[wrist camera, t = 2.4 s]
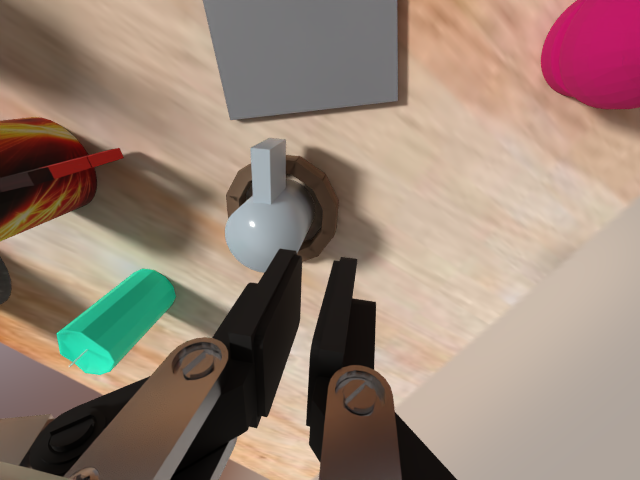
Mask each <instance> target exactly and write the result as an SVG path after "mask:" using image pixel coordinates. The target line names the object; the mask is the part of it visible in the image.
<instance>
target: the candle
mask: <svg viewBox="0 0 640 480" xmlns="http://www.w3.org/2000/svg"><path fill="white" fill-rule="evenodd" d="M175 298H176V295H175V291H174V287H173V285H172V284H171V283H170V282H169V280H168V279H167V278H166V277H165V276H163V275H161V274H160V273H158V272H156V271H155V270H149V269H141V270H138V271H136V272H134V273H133V274H132V275H130V276H129V277H128V278H127V279H125V280H124V281H123V282H121V283H120V284H119V285H118V286H116V287H115V288H114V289H112V290H111V291H110V292H109V293H107V294H106V295H105V296H104V297H102V298H101V299H100V300H98V301H97V302H96V303H95V304H93V305H92V306H91V307H90V308H88V309H87V310H86V311H84V312H83V313H82V314H81V315H79V316H78V317H77V318H75V319H74V320H73V321H72V322H70V323H69V324H68V325H67V326H65V327H64V328H63V329H61V330H60V331H59V332H58V333H56V334H57V339H58V344H59V350H60V354H61V355H62V356H64V357H66V358H67V359H69V360H70V361H72V363H71V364H70V365H69V367H70V366H72V365H73V364H74V363H75V364H76V365H77V366H78V367H79V368H80V369H82V370H83V371H84V372H85V373H89V374H97V375H101V374H104V373H107V372H110V371H111V370H112V369H113V368H114V367H115V366H116V365H117V364H118V363H119V361H120V360H121V359H122V358H123V357H124V356H125V355H126V354H127V353H128V352H129V351H130V350H131V349H132V347H133V346H134V345H135V344H136V343H137V342H138V341H139V340H140V339H141V338H142V337H143V336H144V335H145V333H146V332H147V331H148V330H149V329H150V328H151V327H152V326H153V325H154V324H155V323H156V322H157V320H158V319H159V318H160V317H161V316H162V315H163V314H164V313H165V312H166V311H167V310H168V309H169V308H170V306H171V305H172V304H173V302H174V300H175Z"/></svg>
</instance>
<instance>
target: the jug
mask: <svg viewBox="0 0 640 480" xmlns="http://www.w3.org/2000/svg"><path fill="white" fill-rule="evenodd" d="M251 168H252V188H253V196H251V197H250V198H249V199H248V200H247V201H246V202H245V203H244V204H243V205H241V206H240V207H239V208H238V209H237V210H236V211H235V212H234V213H233V214H232V215H231V216H230V217H229V219H228V221H227V224H226V227H225V238H226V242H227V245H228V247H229V249H230V251H231V253H232V254H233V255H234V257H235V258H236V259H237V260H238V261H239V262H240V263H242V264H243V265H245V266H246V267H248V268H250V269H252V270H255V271H258V272H264V273H265V271H266V270H267V268H268V266H269V265H270V263H271V262H272V260H273V258H274V257H275V255H276V253H277V252H278V250H279V249H287V250H295V251H296V252H297V253H298V251H299V249H300V247H301V245H302V243H303V241H304V239H305V237H306V235H307V232H308V230H309V228H310V226H311V224H312V222H313V220H314V217H315V204H314V200H313V198H312V196H311V194H310V193H309V192H308V190H307V189H306V188H305V187H304V186H302V185H301V184H300V183H298V182H296V181H294V180H291V179H286V140H285V139H274V138H268V139H266V140H264V141H263V142H261V143H259V144H257V145H255V146H253V147H251Z"/></svg>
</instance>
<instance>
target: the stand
mask: <svg viewBox="0 0 640 480" xmlns="http://www.w3.org/2000/svg"><path fill="white" fill-rule="evenodd" d="M286 174H291V175H293V176H294V177H296V178H297V179H299V180H300V181H302V182H303V183H305V184H306V185H307V186H309V187H310V188H312V190H313V192H314V193H315V195H316V197H317V199H318V201H319V203H320V205H321V207H322V209H323V216H322V228H321V229H320V230H319V232H318V233H317V234H316V235H315V237H314V238H313V239H311V240H308V241H305V242H303V243H302V245H301V247H300V249H299V251H298V253H297V255H300V256H302V262H303V261H305V260H308V259H311V258H314V257H317V256H318V255H319V254H320V253H321V252H322V250H323V249H324V248H325V247H326V245H327V244H328V243H329V242H330V240H331V239H332V238H333V237H334V234H335V231H336V228H337V217H338V205H339V202H338V201H339V200H338V198H337V196H336V194H335V192H334V190H333V188H332V186H331V184H330V182H329V180H328V178H327V176H326V175H325V173H323V172H322V171H320V170H319V169H318V168H316V167H315V166H313V165H312V164H310V163H309V162H308V161H306V160H305V159H303V158H302V157H300V156H291V155H286ZM251 183H252V168H251V164H249V165H247V166H246V167H244V168H242V169H241V170H239V171H238V173H237V175H236V177H235V179H234V181H233V182H232V184H231V186H230V188H229V190H228V192H227V194H226V200H227V211H228V219H229V217H230V216H231V215H232V214H233V213H234V212H235V211H236V210H237V209H238V208H239V207H240V206H241V205H243V204H244V203H245V202H246V192H247V191H248V189H249V187H250V185H251Z"/></svg>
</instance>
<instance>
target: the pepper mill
mask: <svg viewBox="0 0 640 480" xmlns="http://www.w3.org/2000/svg"><path fill="white" fill-rule="evenodd" d="M541 68H542V72H543V76H544V78H545V80H546V82H547V83H548V85H549V86H550V87H551V88H552V89H554V90H555V91H556V92H558V93H560V94H562V95H566V96H571V97H575V98H576V99H577V100H578V101H580V102H582V103H584V104H586V105H589V106H592V107H595V108H601V109H632V108H639V107H640V0H577V1H576V2H574V3H573V4H572V5H571V6H570V7H568V8H567V9H566V10H565V11H564V12H563V13H562V14H561V15H560V17H559V18H558V19H557V20H556V22H555V23H554V25H553V26H552V28H551V29H550V31H549V33H548V35H547V37H546V40H545V43H544V45H543V49H542V55H541Z"/></svg>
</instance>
